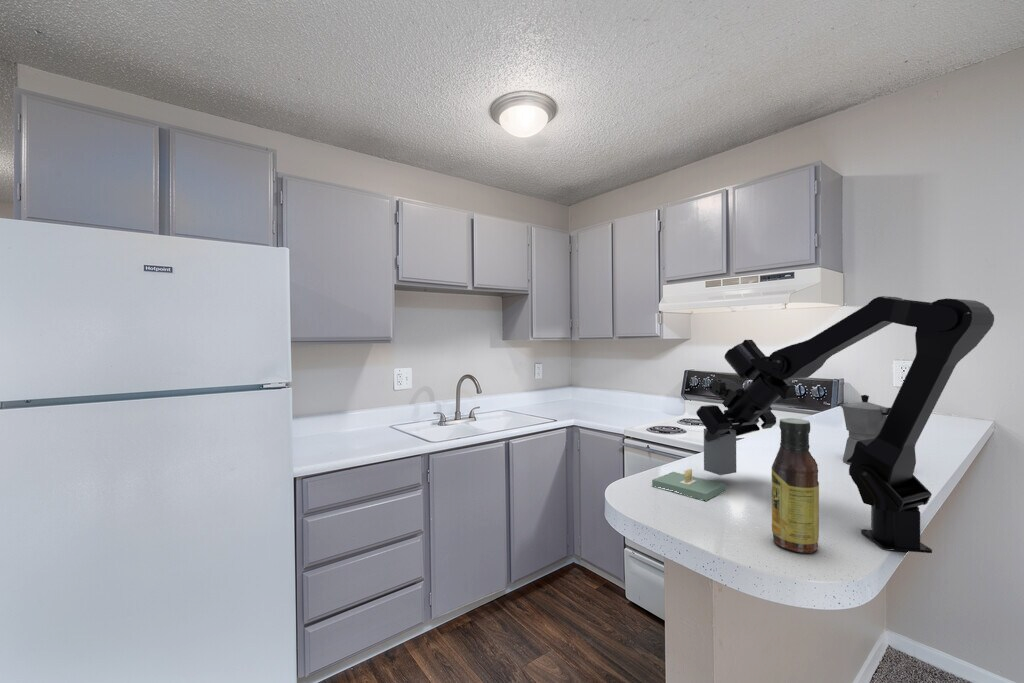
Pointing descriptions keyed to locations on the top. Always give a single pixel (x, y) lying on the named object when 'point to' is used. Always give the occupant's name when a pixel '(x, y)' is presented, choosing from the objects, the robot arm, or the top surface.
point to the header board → (689, 485)
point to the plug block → (720, 454)
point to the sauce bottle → (795, 489)
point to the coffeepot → (862, 422)
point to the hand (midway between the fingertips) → (714, 438)
